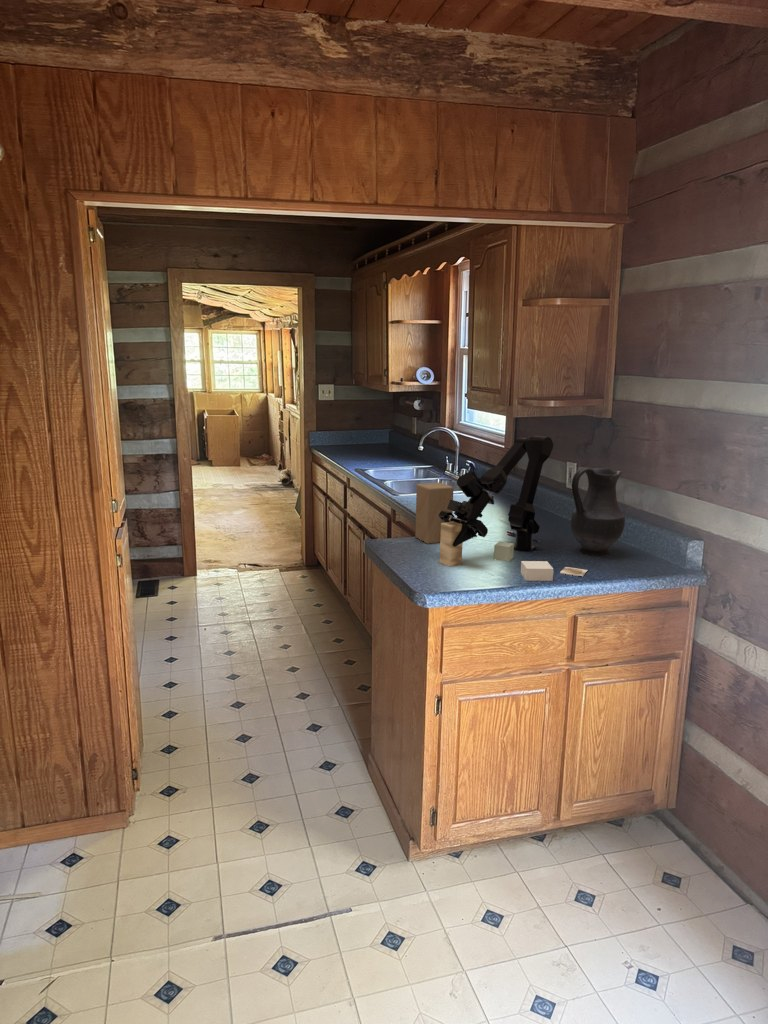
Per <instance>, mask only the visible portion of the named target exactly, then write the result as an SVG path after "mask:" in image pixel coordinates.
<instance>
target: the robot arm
mask: <svg viewBox="0 0 768 1024" xmlns="http://www.w3.org/2000/svg"><path fill="white" fill-rule="evenodd" d="M553 448H554V442H553V440H552V438H551V437H550V436H541V435H536V434H535V435H531V436H530V437H518V438H516V439H515V441H514V443H513V444H512V446H511V447H510V448H509V449H508V450H507V451H506V453H505V454H504V455H503V457H502V458H501V459H500V460H499V462H498V463H497V464H495V466H494V467H491V468H489V469H488V470H487V471H485V472H484V473H483V474H482V475H481V476H480V477H478V476H477V474H476V472H475V471H474V470H468V472H466V473H464V474H462V475H461V476H459V477H458V478H457V480H456V485H457V486H458V488H459V489H460V490H461V492H462V493H463V494H464V495H465V496H466V497H467V498H469V499H468V500H462V502H461V501H458V500H454V499H453V500H450V501H449V504H448V507H447V509H448V510H449V509H450V510H452V511H453V514H452V513H451V512H448V511H445V510H444V511H441V512H440V513H439V515H438V516H439V517H440V519H441V520H442V521H443V522H444V523H446V522H452V521H453V522H457V523H460V524H462V529H461V532H460V533H459V535H458V536H457V538H456V539H455V541H454V543H453V546H454V547H456V546H457V545H459V544H461V543H464V542H466V541H468V540H469V541H470V540H471V539H473V538H477V537H481V538H486V536H487V534H489V533H488V532H489V531H488V527H487V526H486V525H485V523H484V522H483V521H482V520H480V519H482V517H483V516H484V515H483V514H482V513H483V512H484V510H485V509H486V508H487V506H488V504H489V505H493V506H494V505H495V500H494V495H490V493H493V494H499V493H501V492H502V491H503V489H504V487H505V486H506V484H507V482H508V476H509V474H510V473H511V472H512V471H513V469H514V468H515V467H516V466H517V465H518V463H519V462H520V461H521V459H522V458H523V457H524V456H525V455H527V459H528V462H527V466H526V469H525V473H524V478H523V482H522V485H521V490H520V493H519V497H518V500H517V502H516V503H514V504H512V503H511V504H510V506H509V511H508V513H507V516H508V522H509V525H510V529H511V530H514V531H515V543H514V550H517V551H518V550H519V551H525V552H526V551H527V552H531V551H532V550H533V549H535V548H536V545H533V535H536V534H537V533H539V531H540V525H539V524H538V522H537V521H536V520H535V517H536V512H535V507H534V500H535V497H536V492H537V489H538V485H539V480H540V477H541V472H542V470H543V466H544V463H545V462H546V461H547V460H548V459H549V458H550V456H551V454H552V451H553ZM455 516H456V517H455ZM478 518H480V519H478Z"/></svg>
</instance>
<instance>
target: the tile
mask: <svg viewBox="0 0 768 1024" xmlns="http://www.w3.org/2000/svg"><path fill="white" fill-rule="evenodd" d="M587 571H588V569H583V568H577V567H569V566H565V567H564V568H562V570H560V572H559V574H560V575H565V574H566V575H565V576H572V575H573V577H578V576H582V577H581V578H583V577H584V576H585V575H586V574H587V573H588V572H587ZM586 572H587V573H586ZM585 573H586V574H585Z"/></svg>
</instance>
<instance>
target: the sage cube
mask: <svg viewBox="0 0 768 1024" xmlns="http://www.w3.org/2000/svg"><path fill="white" fill-rule="evenodd" d="M514 545H515V543H514V542H513V543H511V542H505V541H498V542H496V543H495V544H494V546H493V560H494V559H496V561H501V562H510V561H511V560H513V558H514V550H515V549H514Z"/></svg>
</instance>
